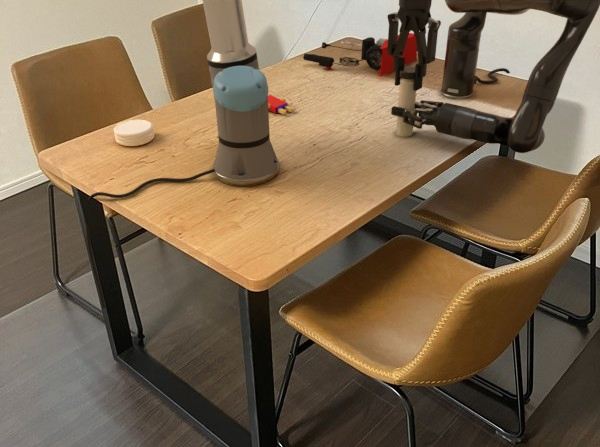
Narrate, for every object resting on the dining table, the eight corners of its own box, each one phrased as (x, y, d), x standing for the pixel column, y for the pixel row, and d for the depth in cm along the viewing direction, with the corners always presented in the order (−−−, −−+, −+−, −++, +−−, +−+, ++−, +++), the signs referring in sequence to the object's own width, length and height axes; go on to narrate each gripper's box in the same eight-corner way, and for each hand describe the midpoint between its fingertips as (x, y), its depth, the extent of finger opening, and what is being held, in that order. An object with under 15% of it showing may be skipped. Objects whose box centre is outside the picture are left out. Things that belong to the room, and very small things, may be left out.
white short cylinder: (127, 150, 156) (124, 137, 154) (108, 138, 162) (106, 125, 160) (161, 139, 161) (159, 126, 159) (142, 127, 168) (140, 115, 166)
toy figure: (297, 104, 175) (269, 91, 182) (279, 110, 172) (251, 97, 178) (297, 112, 177) (269, 99, 184) (279, 119, 173) (251, 105, 180)
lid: (403, 71, 157) (403, 65, 156) (421, 74, 155) (422, 67, 154) (396, 77, 154) (396, 70, 153) (415, 80, 152) (415, 73, 151)
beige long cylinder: (393, 134, 162) (397, 73, 154) (401, 128, 165) (406, 69, 156) (407, 138, 160) (412, 76, 151) (415, 132, 163) (421, 72, 154)
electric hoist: (302, 34, 206) (381, 48, 191) (344, 20, 225) (419, 32, 210) (301, 64, 211) (379, 80, 196) (343, 48, 230) (416, 62, 215)
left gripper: (375, -13, 146) (370, 82, 158) (441, -3, 136) (431, 99, 148) (393, -18, 151) (387, 75, 163) (458, -8, 141) (447, 90, 153)
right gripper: (472, 98, 155) (410, 85, 163) (448, 116, 145) (384, 102, 154) (468, 125, 159) (407, 112, 167) (445, 145, 149) (382, 130, 158)
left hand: (408, 86), depth 156 cm, fingers closed on lid, 5 cm apart
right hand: (396, 107), depth 160 cm, fingers closed on beige long cylinder, 4 cm apart
